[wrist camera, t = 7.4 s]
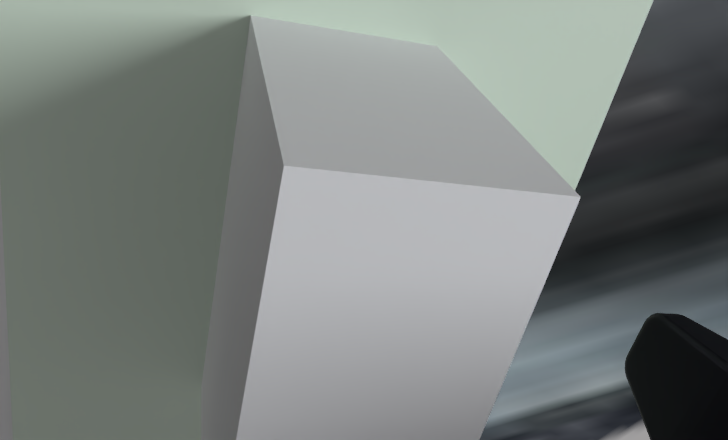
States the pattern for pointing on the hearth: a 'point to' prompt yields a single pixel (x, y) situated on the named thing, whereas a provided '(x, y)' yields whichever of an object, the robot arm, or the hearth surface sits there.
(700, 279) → the hearth surface
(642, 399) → the robot arm
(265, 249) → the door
